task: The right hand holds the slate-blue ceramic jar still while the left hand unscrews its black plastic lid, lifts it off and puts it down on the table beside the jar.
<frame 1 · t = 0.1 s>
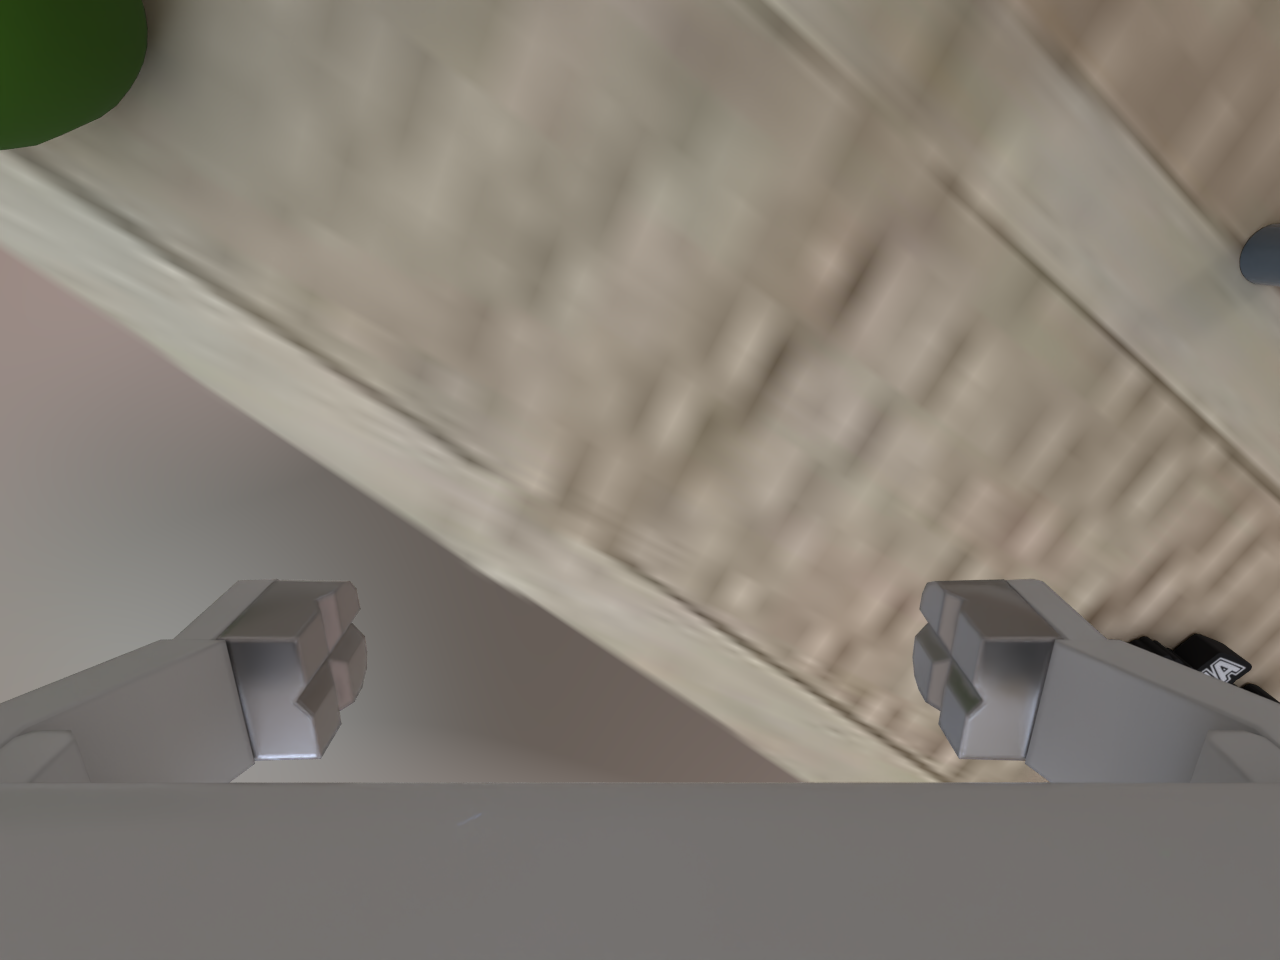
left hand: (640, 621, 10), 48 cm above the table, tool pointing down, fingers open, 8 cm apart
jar: (1269, 254, 54), on the table
black printed glove: (1159, 718, 70), on the table
vase: (85, 20, 49), on the table
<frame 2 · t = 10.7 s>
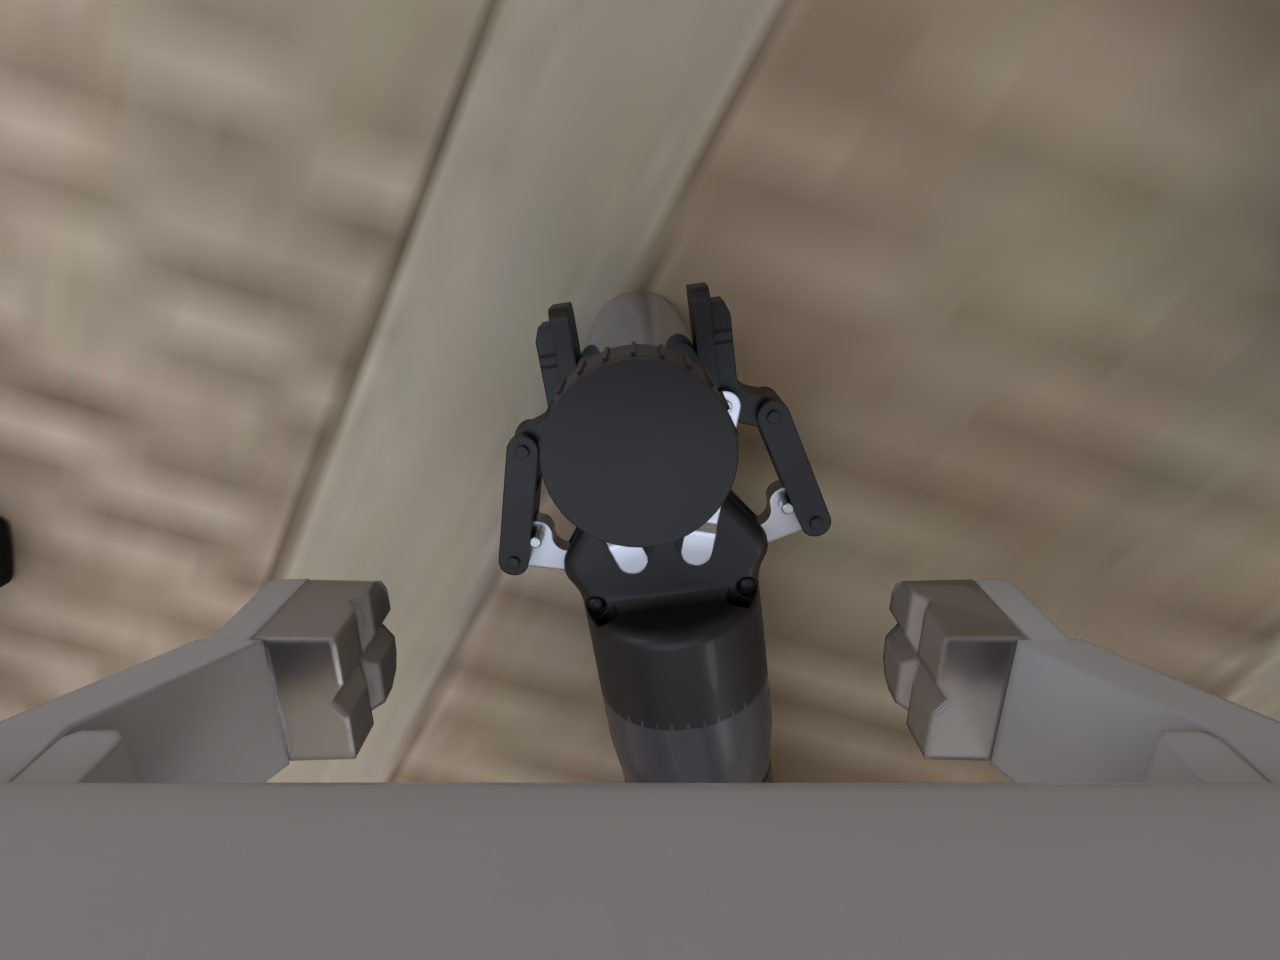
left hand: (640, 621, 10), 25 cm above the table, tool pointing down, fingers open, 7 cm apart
right hand: (627, 297, 26), fingers closed on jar, 4 cm apart
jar: (638, 339, 33), on the table, touching right hand
lid: (638, 453, 17), point 17 cm above the table, screwed on, not yet turned
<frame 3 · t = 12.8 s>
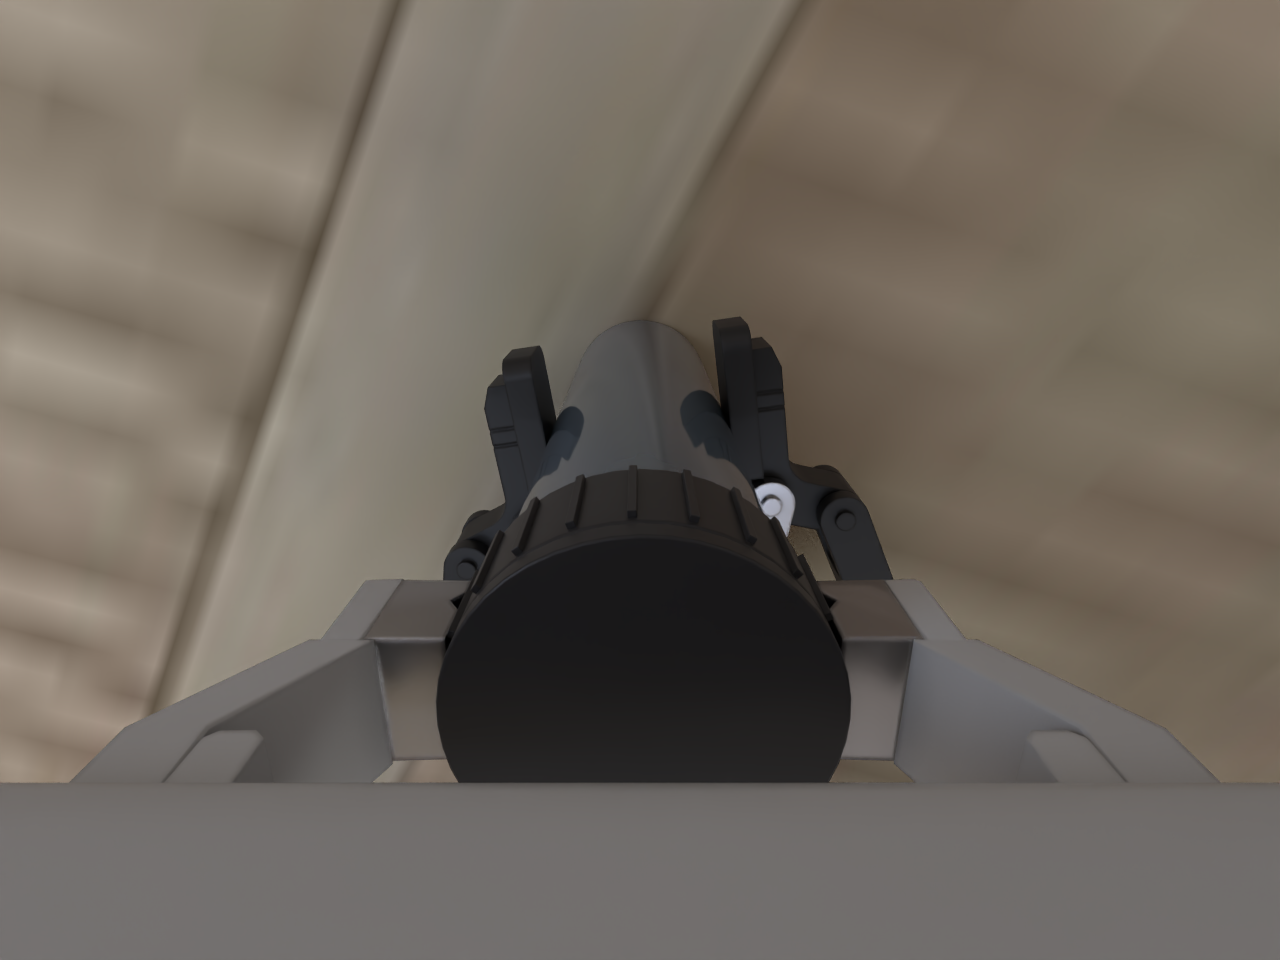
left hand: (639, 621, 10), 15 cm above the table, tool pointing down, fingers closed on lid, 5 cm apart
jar: (640, 385, 24), on the table, touching right hand
lid: (643, 704, 9), point 17 cm above the table, screwed on, not yet turned, touching left hand
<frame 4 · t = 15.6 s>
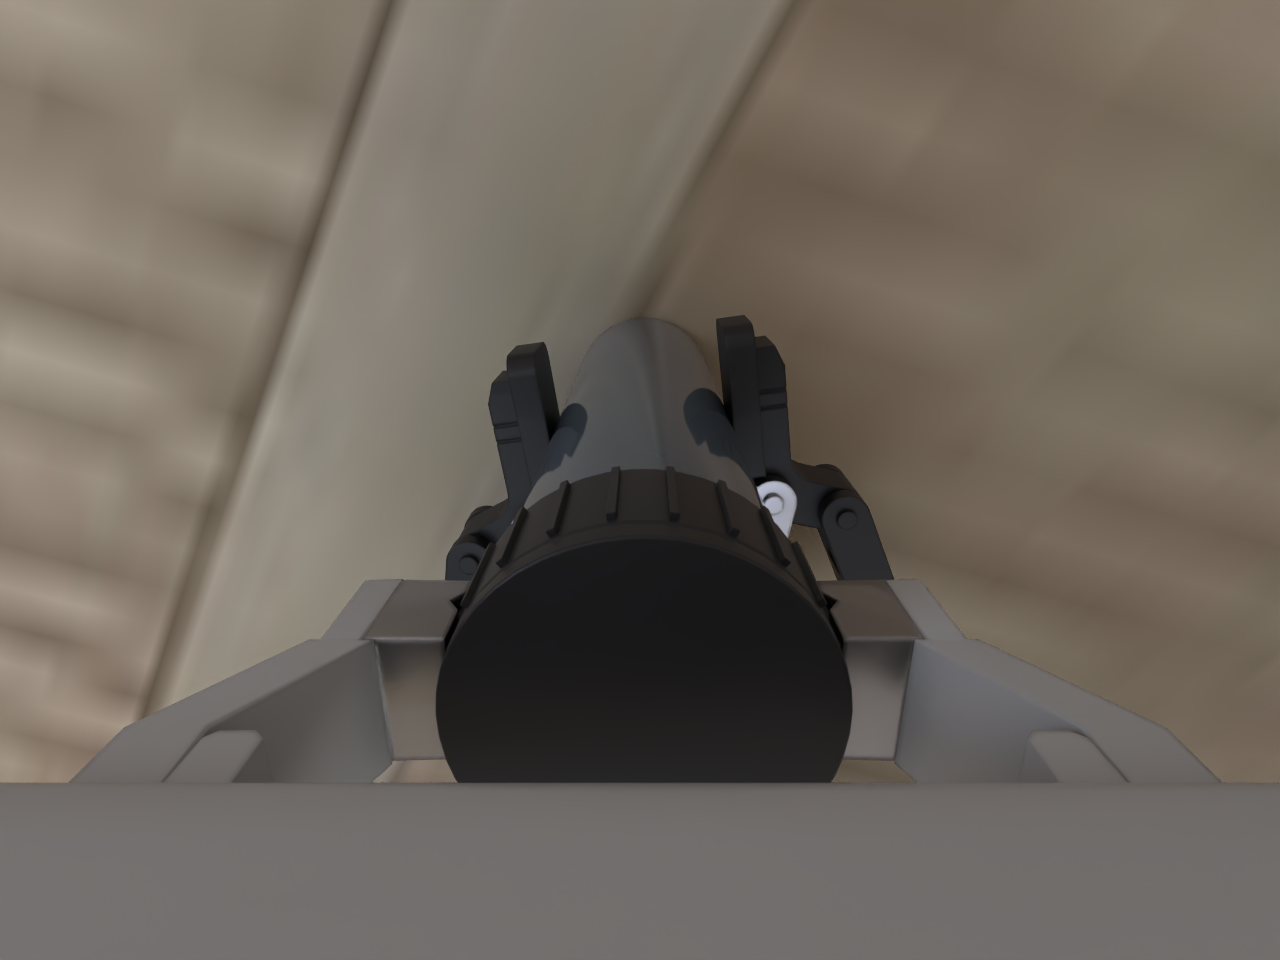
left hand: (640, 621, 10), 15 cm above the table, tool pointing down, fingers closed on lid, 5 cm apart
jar: (644, 383, 24), on the table, touching right hand
lid: (643, 705, 8), point 17 cm above the table, turned 72° so far, risen 0.1 cm, still on its thread, touching left hand
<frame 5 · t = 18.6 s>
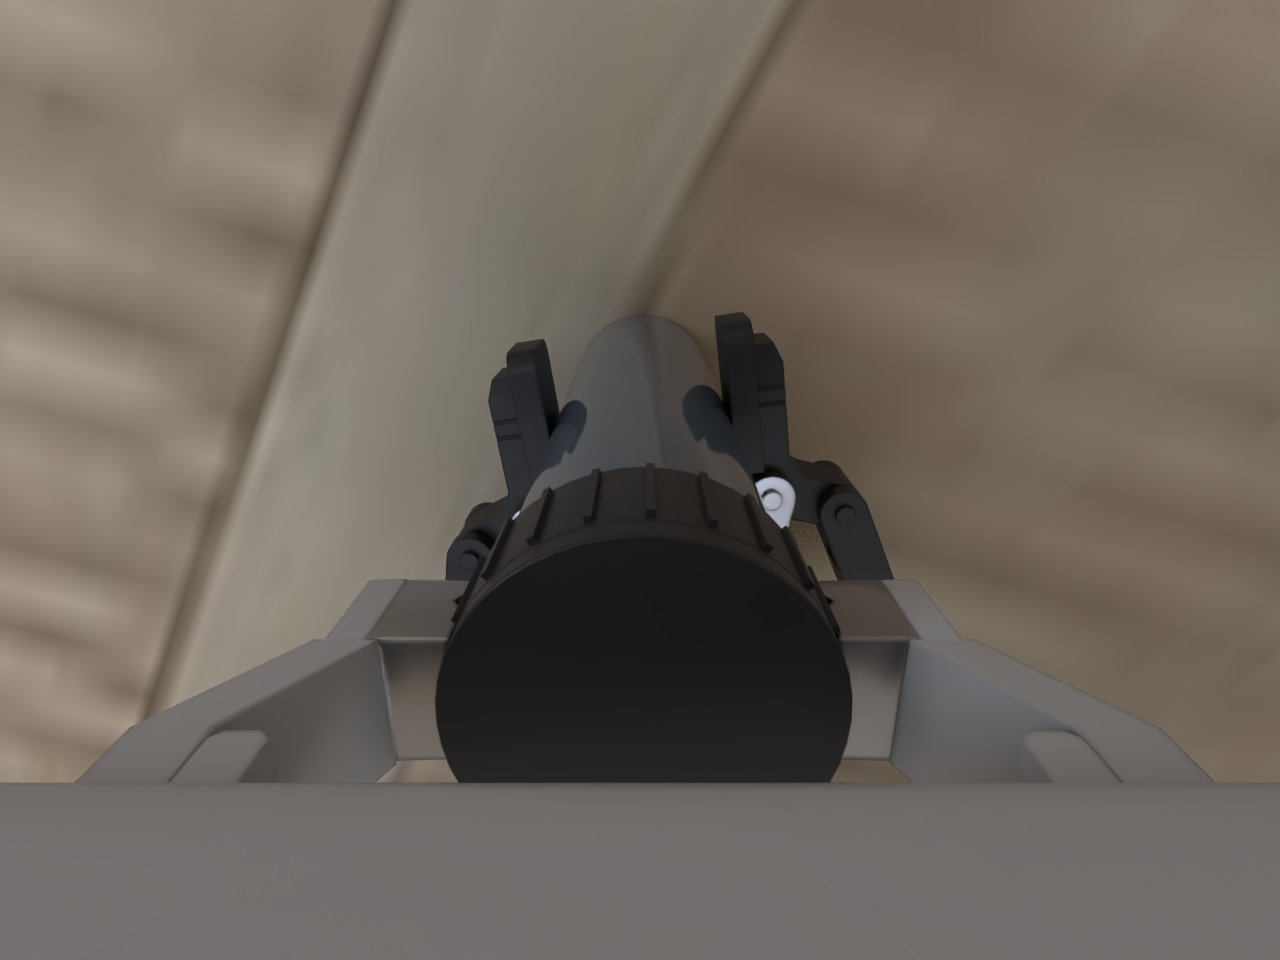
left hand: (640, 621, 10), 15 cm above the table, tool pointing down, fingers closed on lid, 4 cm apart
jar: (643, 380, 25), on the table, touching right hand
lid: (643, 704, 8), point 17 cm above the table, turned 143° so far, risen 0.2 cm, still on its thread, touching left hand
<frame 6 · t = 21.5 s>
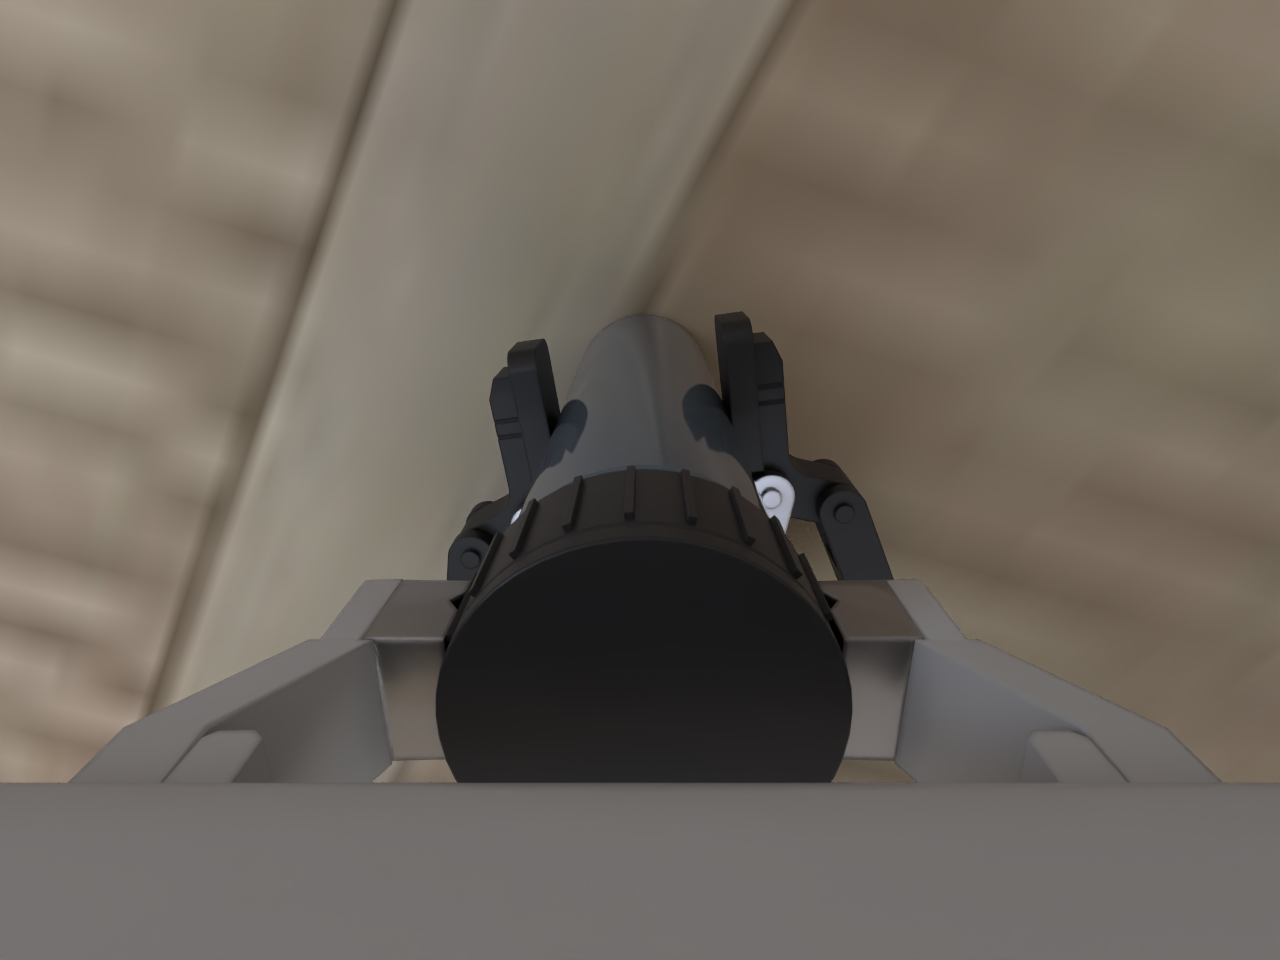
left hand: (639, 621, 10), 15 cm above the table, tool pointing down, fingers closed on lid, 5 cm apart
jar: (643, 379, 25), on the table, touching right hand
lid: (643, 706, 8), point 17 cm above the table, turned 214° so far, risen 0.3 cm, still on its thread, touching left hand
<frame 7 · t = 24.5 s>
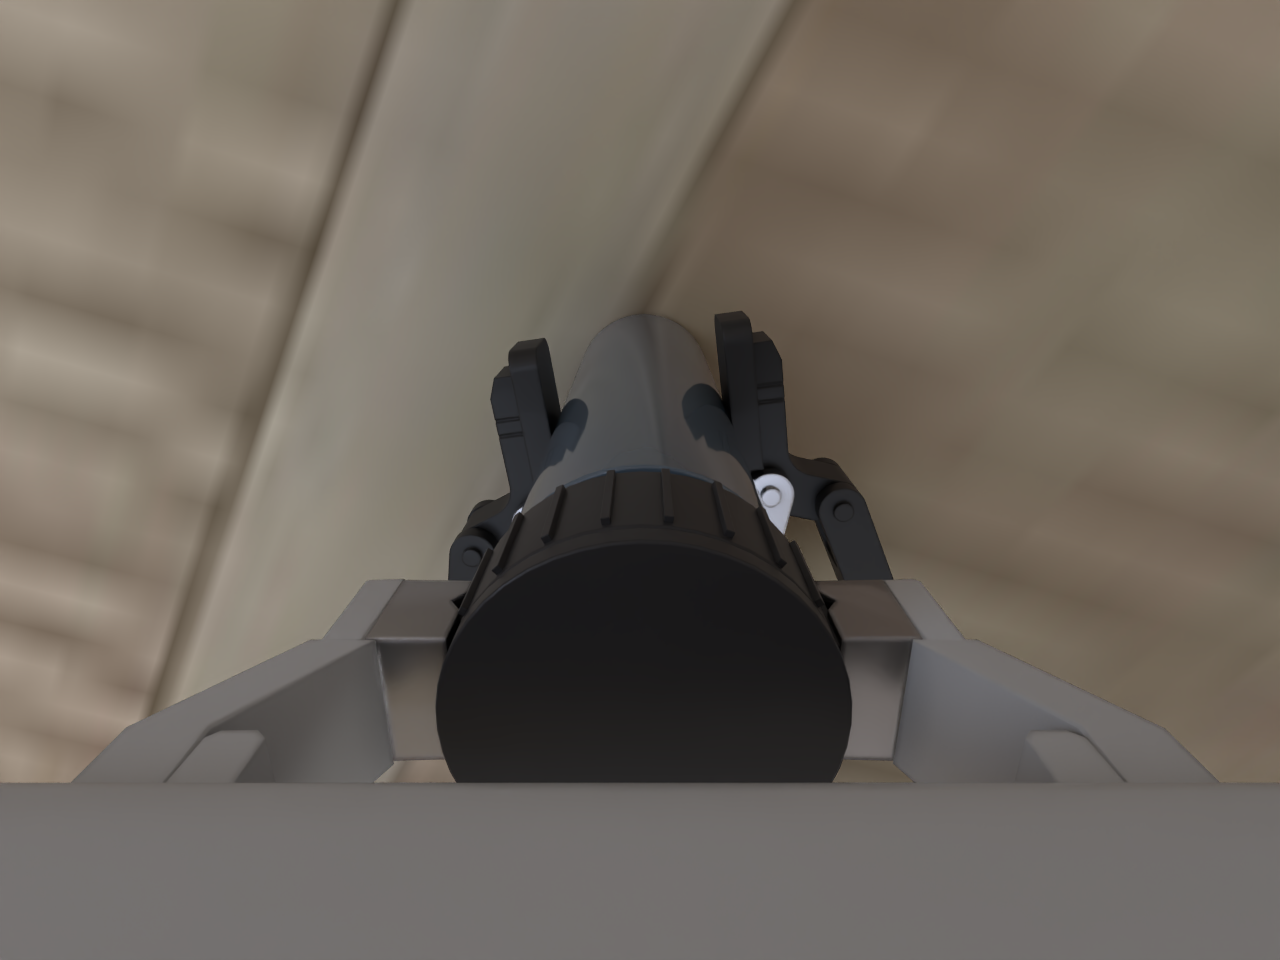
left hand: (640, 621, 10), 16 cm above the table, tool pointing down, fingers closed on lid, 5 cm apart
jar: (644, 378, 25), on the table, touching right hand
lid: (643, 708, 9), point 17 cm above the table, turned 286° so far, risen 0.4 cm, still on its thread, touching left hand
when the left hand's fingers open (2 cm above the table, at t = 33.0 s): lid drops 2 cm, point 2 cm above the table.
when the right hand's fingers open (7 cm above the table, at t = 34.0 s): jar stays where it is, on the table.
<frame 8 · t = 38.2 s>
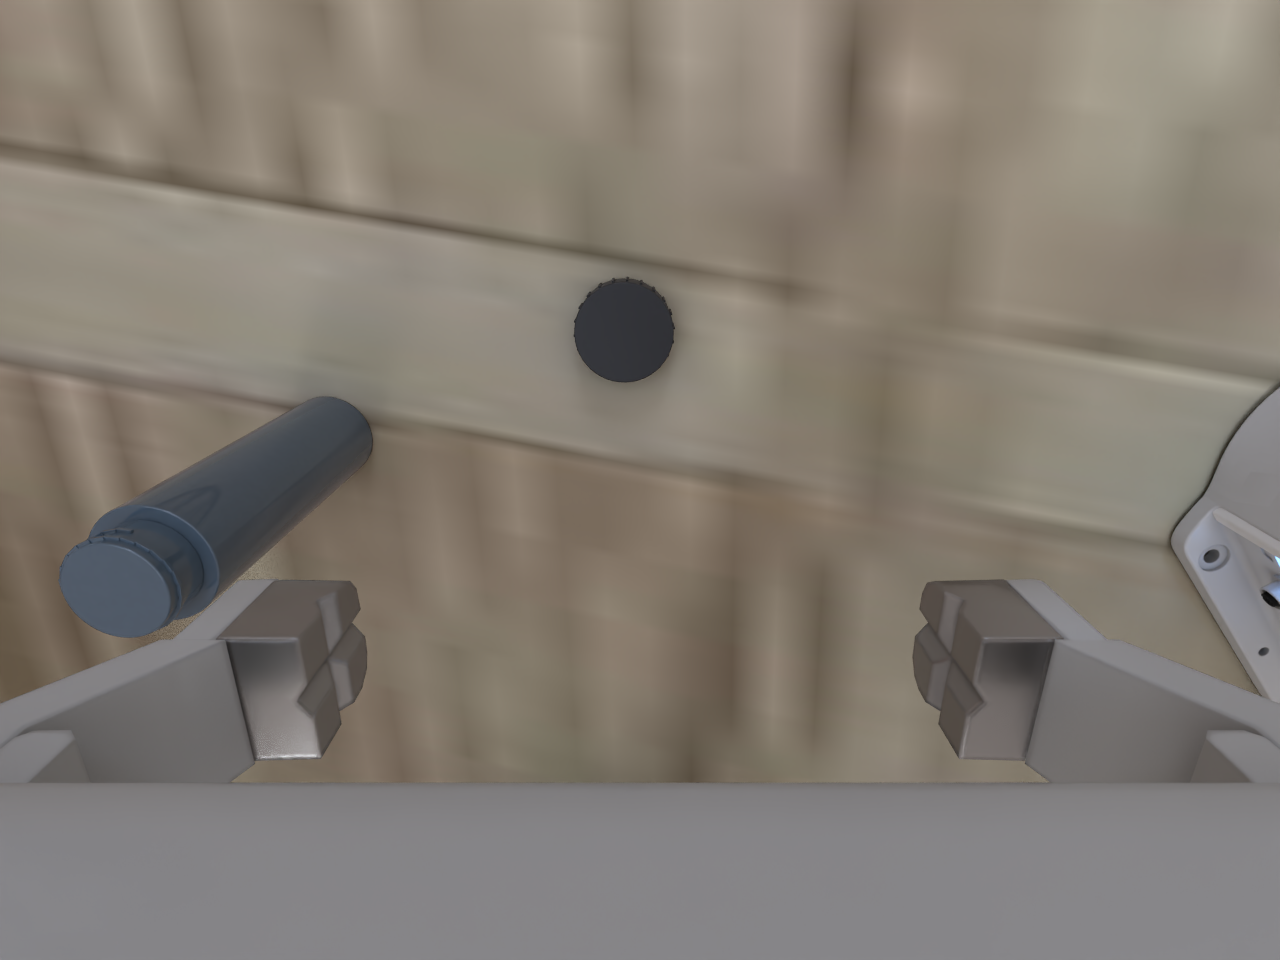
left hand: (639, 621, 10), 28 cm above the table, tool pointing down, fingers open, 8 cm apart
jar: (331, 436, 38), on the table
lid: (624, 332, 35), point 2 cm above the table, off its thread
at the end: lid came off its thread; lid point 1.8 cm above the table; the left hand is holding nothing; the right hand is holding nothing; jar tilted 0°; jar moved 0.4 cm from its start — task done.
